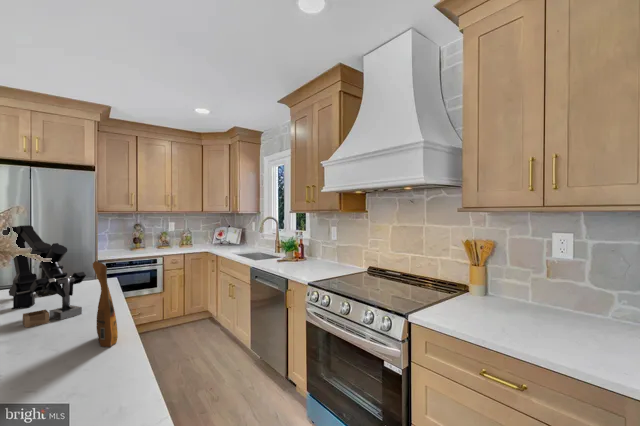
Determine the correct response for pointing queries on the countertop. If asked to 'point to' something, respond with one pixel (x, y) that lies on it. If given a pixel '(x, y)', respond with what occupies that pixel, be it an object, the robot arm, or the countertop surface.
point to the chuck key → (66, 292)
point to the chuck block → (65, 312)
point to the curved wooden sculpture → (105, 310)
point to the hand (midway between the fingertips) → (68, 296)
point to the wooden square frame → (35, 318)
